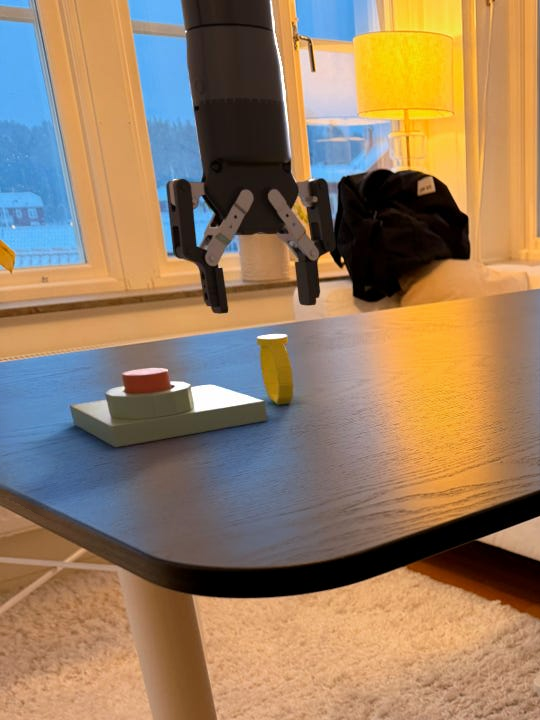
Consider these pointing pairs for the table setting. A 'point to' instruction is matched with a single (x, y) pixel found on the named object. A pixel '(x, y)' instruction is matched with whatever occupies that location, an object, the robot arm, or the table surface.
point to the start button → (146, 380)
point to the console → (165, 413)
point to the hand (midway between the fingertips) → (265, 308)
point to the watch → (276, 367)
